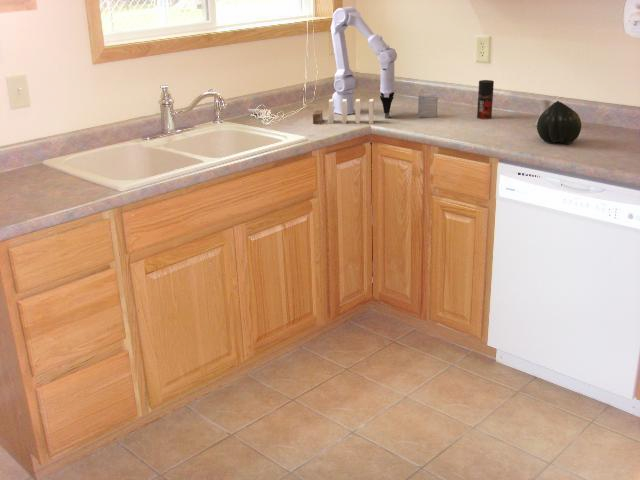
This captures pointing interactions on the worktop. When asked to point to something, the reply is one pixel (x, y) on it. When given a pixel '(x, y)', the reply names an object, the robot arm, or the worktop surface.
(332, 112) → the domino
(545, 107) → the flask
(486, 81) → the deodorant
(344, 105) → the domino
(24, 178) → the worktop surface
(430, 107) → the medicine box
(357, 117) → the domino
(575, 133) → the squash
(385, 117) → the domino
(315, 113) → the block
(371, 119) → the domino
